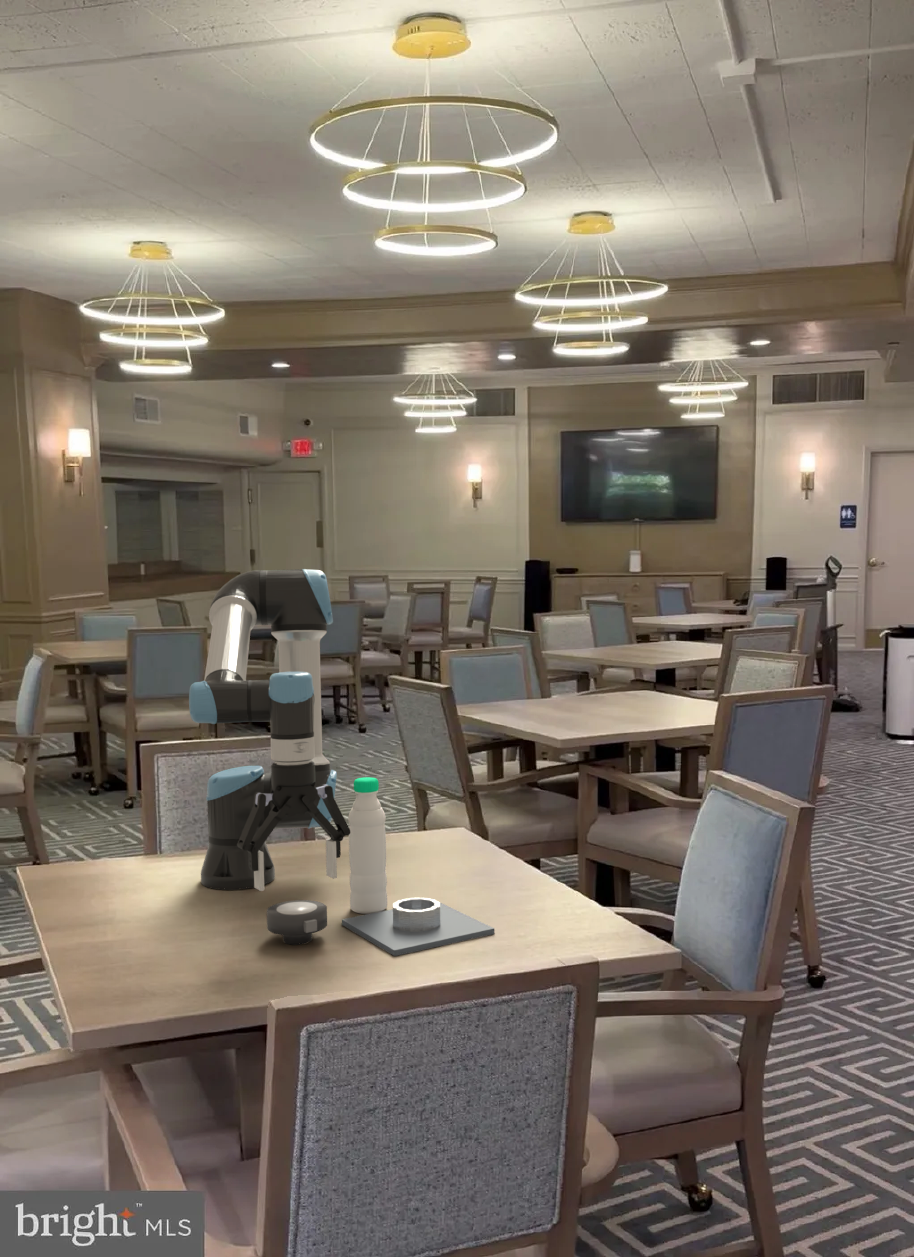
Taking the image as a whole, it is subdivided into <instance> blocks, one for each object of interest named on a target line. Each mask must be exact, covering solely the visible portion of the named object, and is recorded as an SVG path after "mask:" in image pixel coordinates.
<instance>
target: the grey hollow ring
mask: <svg viewBox="0 0 914 1257" xmlns="http://www.w3.org/2000/svg"><path fill="white" fill-rule="evenodd" d="M440 903H441V902H440V901H438V900H437V899H434V898H429V897H423V896H422V897H409V898H408V897H407V898H402V899H398V900H397V901H394V902H393V903H392V909H393V927H395V928H397V929H399V930H404V931H410V932H413V931H427V930H431V929H435V928H437V927H438V926H440Z"/></svg>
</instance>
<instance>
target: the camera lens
mask: <svg viewBox="0 0 914 1257" xmlns="http://www.w3.org/2000/svg"><path fill="white" fill-rule="evenodd" d="M327 927H328V906H327V905H326V904H325V903H324V902H320V901H316V900H311V899H310V900H309V899H308V900H307V899H296V900H288V901H282V902H278V903H275V904H272V905H271V906H269V907H268V908H266V929H267V931H269V932H270V933H271V934H275V935H277V936H278V935H279V936H282V941H283V943H284V944H285V945H286V944H287V945H293V946H295V945H296V946H298V945H304V944H305V945H306V944H308V943H310V942H312V940H313V934H315V933H318V932H321V931H323V930H324V929H326V928H327Z"/></svg>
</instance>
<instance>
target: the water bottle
mask: <svg viewBox="0 0 914 1257" xmlns="http://www.w3.org/2000/svg"><path fill="white" fill-rule="evenodd" d="M379 783H380V782H379V779H378V778H376V777H369V776H368V777H367V776H365V777H358V778H356V779H354V781H353V791H354V794H355V800H354V801H353V803H352V807H351V809H350V811H349V814H348V816H347V817H348V818H347V821H348V822H347V823H348V824H349V825H348V827H349V829H350V834H349V835H348V858H349V869H350V873H349V887H350V893H349V894H350V896H349V897H350V898H349V907H350V909H351V911H353V912H354V913H357V914H362V915H366V914H371V913H376V912H382V911H386V909H387V907H388V892H387V885H388V881H387V880H388V876H387V872H386V870H387V869H386V867H387V837H386V836H387V835H386V826H385V822H386V821H387V820H386V819H387V818H386V813H385V811H384V808H383V807H382V805H381V802H380V801H379V799H378V797H377V794H378V793H379V789H380V786H379V785H380V784H379Z"/></svg>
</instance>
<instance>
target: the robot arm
mask: <svg viewBox="0 0 914 1257" xmlns="http://www.w3.org/2000/svg"><path fill="white" fill-rule="evenodd" d="M327 579H328V578H327V576H326V574H325V573H324V572H323V571H322V570H319V569H308V568H307V569H306V568H301V569H300V568H296V569H295V568H294V569H273V570H272V569H268V570H267V569H266V570H264V569H263V570H261V569H255V570H248V571H245V572H243V573H240V574H238V575H236V576H234V577H233V578H231V579H230V580H229V581H227V582H226V583H225V584H224V585H222V587H221V588H220V589H219V590H218V591H217V592H216V593H215V595H214V597H213V599H212V601H211V602H210V606H209V611H208V612H209V613H208V618H209V623H210V625H211V634H210V638H209V639H210V640H209V646H208V654H207V660H206V664H205V665H206V666H205V667H206V668H205V673H204V680H201V681H197V682H196V681H195V682H193V683H192V684H191V685H190V686H189V692H188V694H189V695H188V704H189V708H188V709H189V715H190V718H191V720H192V721H193V722H194V723H197V724H212V725H215V724H229V723H230V724H231V723H249V722H250V723H253V722H254V723H255V722H256V723H257V722H269V724H270V759H271V761H272V762H273V763H272V764H271V765H270V768H271V770H270V771H271V772H266V773H265V769H264V768H263V766H261V765H244V766H238V767H233V768H229V769H224V770H221V771H219V772H216V773H214V774H212V775H211V776H210V777H209V778H208V779H207V782H206V783H207V786H206V787H207V788H206V790H207V791H206V796H205V798H206V800H205V801H207V833H208V837H207V838H208V845H207V846H208V847H207V848H206V849H207V850H206V854H205V856H204V861H203V864H202V867H201V870H200V883H201V885H203V886H204V887H206V888H209V889H213V890H226V891H231V890H232V891H233V890H245V889H251V888H252V889H253V888H255V890H258V891H260V892H263V891H265V886H266V885H267V884H269V883H271V882H272V881H274V880H275V878H276V875H275V874H276V873H275V870H276V869H275V865H274V862H273V859H272V857H271V853H270V852H269V851H270V850H269V848H268V846H267V843H266V841H267V839H269V837H270V835H271V834H272V833H273V831H274V830H280V829H281V830H283V829H303V828H306V829H308V830H309V829H311V828H321V829H322V830H323V831H324V832H325V833H326V834H327V835H328V836H329V838H325V861H326V862H325V865H326V866H325V868H326V871H325V872H326V876H327V877H328V878H331V879H338V870H337V869H338V866H337V865H338V864H337V859H339V858H340V857H341V842H342V841H343V840H344V837H346V836H349V834H350V829H349V825H348V822H346V819H345V818H344V816H343V813H342V811H341V810H340V808H339V806H338V803H337V802H336V799H335V797H336V796H335V795H336V787H337V786H336V784H337V777H338V773H337V771H336V770H335V769H331V762H330V760H329V759H328V758H326V756H324V754H323V727H322V726H323V724H322V694H321V693H322V690H321V689H322V687H321V686H322V683H321V649H320V648H321V640H322V638H323V637H325V635H326V634H327V632H328V631H327V629H328V628H327V625H329V626H330V625H332V624H334V618H333V611H332V604H331V597H330V590H329V585H328V580H327ZM255 626H270V630H271V631H270V632H271V633H270V634H271V635H272V636H273V637H274V638H275V639H276V640H277V642H278V666H279V667H278V671H279V672H274V673H272V674H271V675H270V677H269V679H260V680H259V679H258V680H253V679H252V680H251V679H250V680H247V671H248V660H249V649H250V641H251V640H250V638H251V637H250V636H251V631H252V630H253V629H254V627H255ZM332 821H333V823H334V825H335V826H334V825H333V824H332ZM336 828H337V829H336Z"/></svg>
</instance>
